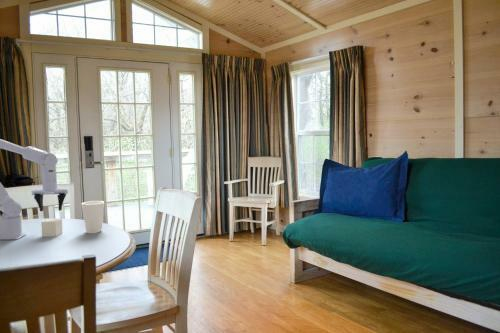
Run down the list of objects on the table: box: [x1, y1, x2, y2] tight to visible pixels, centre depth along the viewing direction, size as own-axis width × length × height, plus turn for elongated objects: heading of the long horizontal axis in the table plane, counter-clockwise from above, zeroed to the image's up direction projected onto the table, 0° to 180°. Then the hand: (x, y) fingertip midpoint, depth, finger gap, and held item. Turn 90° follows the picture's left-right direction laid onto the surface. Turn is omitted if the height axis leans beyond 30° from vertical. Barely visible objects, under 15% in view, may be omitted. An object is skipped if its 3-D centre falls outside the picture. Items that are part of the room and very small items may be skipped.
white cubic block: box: [41, 218, 63, 238], centre depth 179 cm, size 6×6×6 cm
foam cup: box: [80, 200, 105, 234], centre depth 184 cm, size 10×9×13 cm
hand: (51, 210), depth 184 cm, fingers open, 7 cm apart
